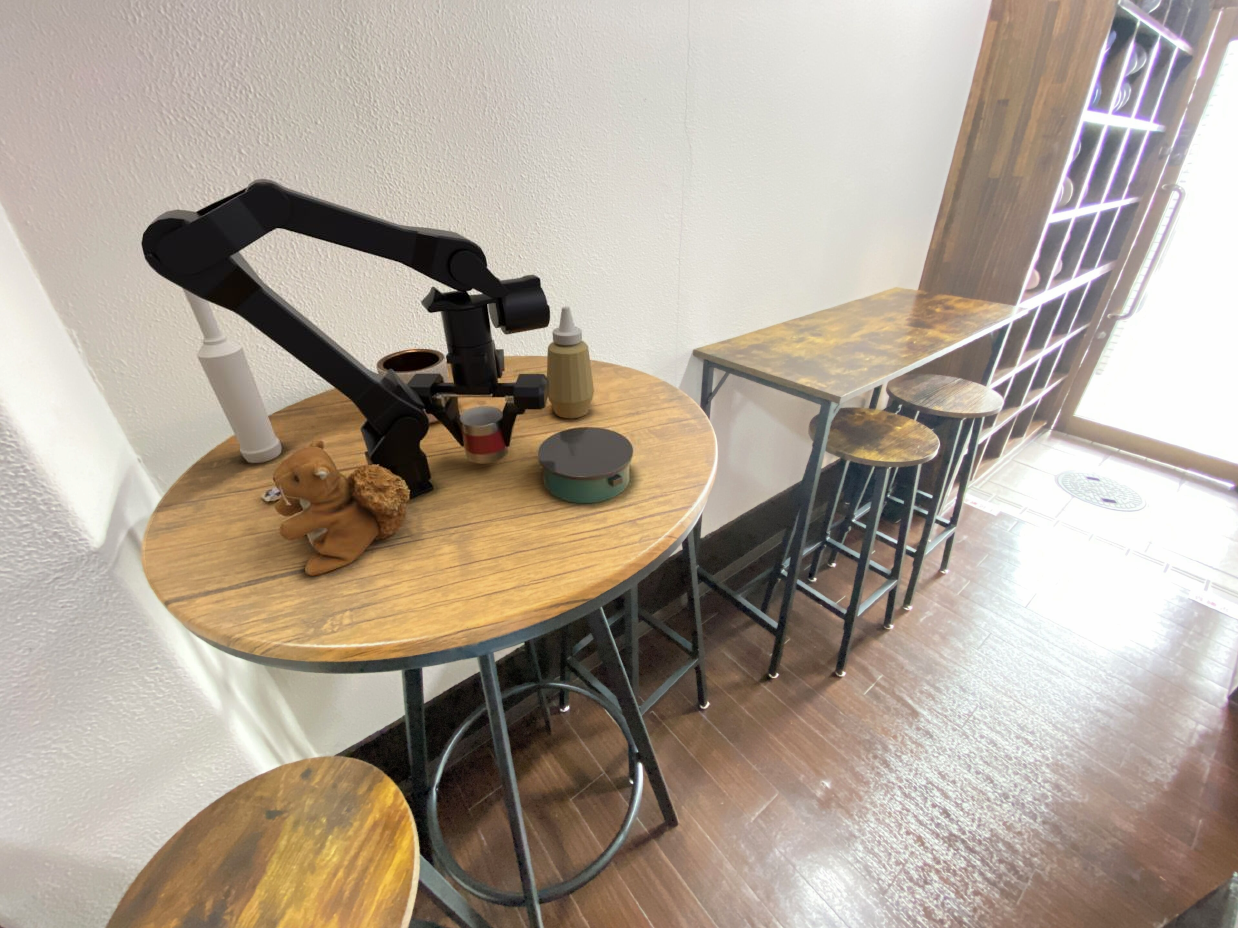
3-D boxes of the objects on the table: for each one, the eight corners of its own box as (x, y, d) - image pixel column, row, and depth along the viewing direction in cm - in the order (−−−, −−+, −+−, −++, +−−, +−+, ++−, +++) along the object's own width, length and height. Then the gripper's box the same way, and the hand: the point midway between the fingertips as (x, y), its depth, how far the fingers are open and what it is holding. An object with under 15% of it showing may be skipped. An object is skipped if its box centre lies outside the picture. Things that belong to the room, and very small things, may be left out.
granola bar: (312, 476, 75) (310, 470, 75) (320, 482, 74) (317, 476, 73) (261, 498, 71) (258, 492, 70) (268, 505, 70) (265, 498, 69)
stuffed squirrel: (296, 529, 66) (256, 437, 59) (415, 501, 71) (392, 413, 63) (290, 584, 58) (244, 485, 51) (424, 548, 63) (399, 453, 56)
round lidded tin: (578, 520, 67) (576, 491, 65) (521, 472, 76) (517, 445, 74) (654, 482, 74) (655, 454, 72) (593, 443, 83) (592, 417, 81)
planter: (445, 428, 87) (433, 373, 82) (379, 427, 87) (363, 373, 82) (462, 398, 96) (453, 348, 91) (403, 398, 97) (390, 347, 91)
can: (477, 468, 74) (471, 430, 70) (458, 451, 77) (451, 414, 74) (516, 454, 77) (511, 417, 73) (495, 437, 81) (490, 401, 77)
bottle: (266, 465, 78) (191, 292, 64) (235, 461, 79) (155, 290, 65) (291, 447, 82) (225, 281, 69) (261, 444, 83) (191, 279, 69)
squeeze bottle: (573, 427, 87) (567, 319, 78) (538, 413, 91) (528, 309, 82) (604, 409, 93) (602, 306, 83) (569, 397, 97) (563, 297, 87)
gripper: (550, 320, 75) (557, 418, 83) (417, 320, 75) (438, 418, 83) (539, 349, 65) (548, 457, 74) (387, 348, 65) (414, 456, 74)
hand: (486, 445), depth 76 cm, fingers closed on can, 6 cm apart
